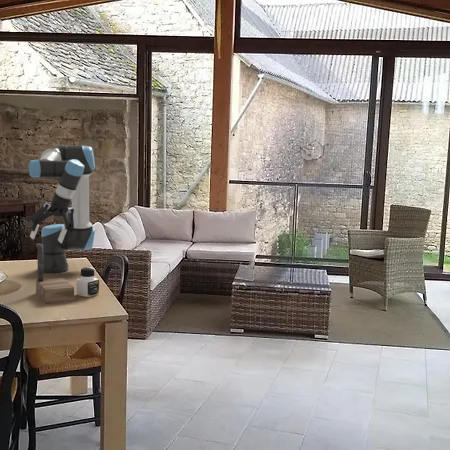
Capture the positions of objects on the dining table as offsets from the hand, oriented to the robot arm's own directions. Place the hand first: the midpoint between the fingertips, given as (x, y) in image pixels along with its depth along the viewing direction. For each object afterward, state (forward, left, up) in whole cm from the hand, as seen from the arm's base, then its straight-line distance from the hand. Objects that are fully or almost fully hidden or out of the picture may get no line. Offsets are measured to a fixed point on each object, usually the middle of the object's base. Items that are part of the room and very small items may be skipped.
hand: (45, 239), depth 265 cm
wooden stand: (0, +5, -25) cm, 25 cm away
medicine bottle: (-11, +14, -25) cm, 31 cm away
